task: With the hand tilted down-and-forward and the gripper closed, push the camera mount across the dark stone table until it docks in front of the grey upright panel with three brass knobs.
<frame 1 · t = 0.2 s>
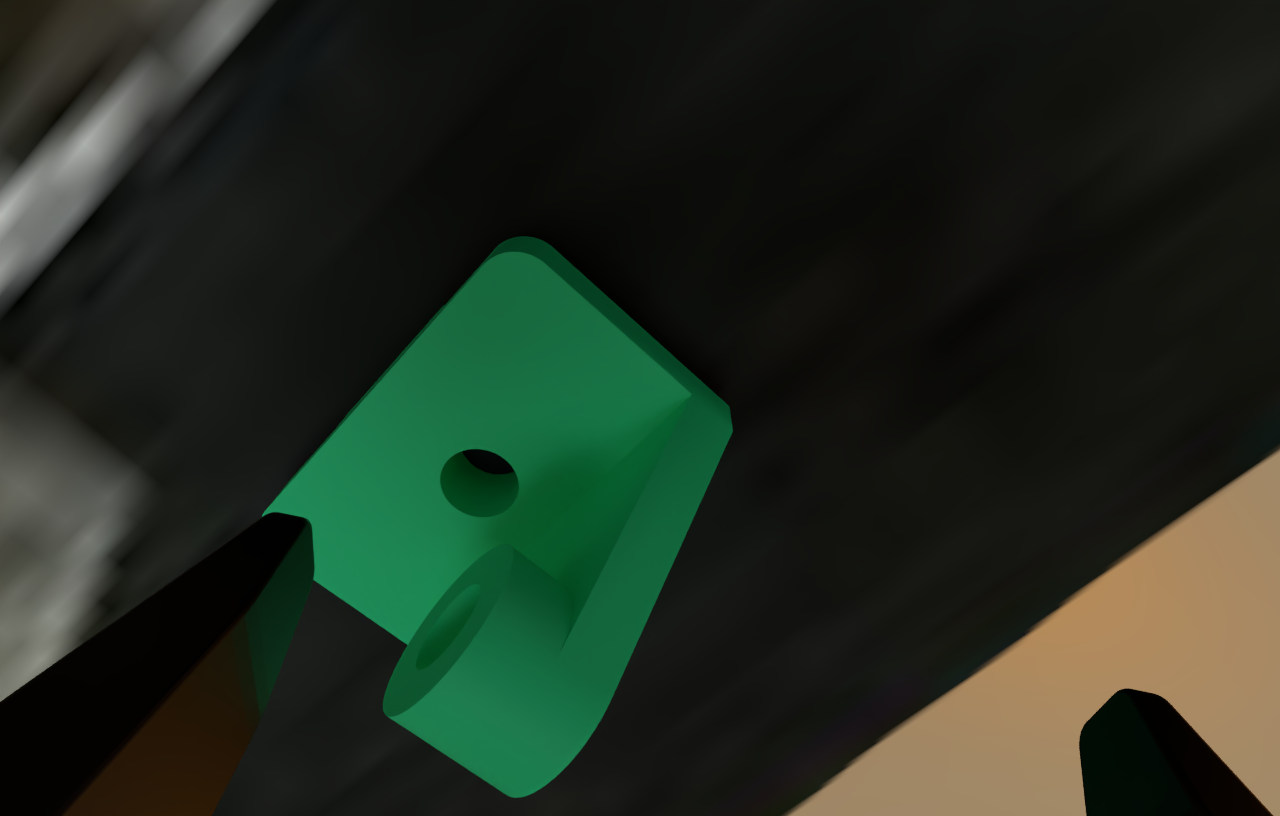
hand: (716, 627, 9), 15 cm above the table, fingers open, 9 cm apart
camera mount: (498, 437, 26), on the table
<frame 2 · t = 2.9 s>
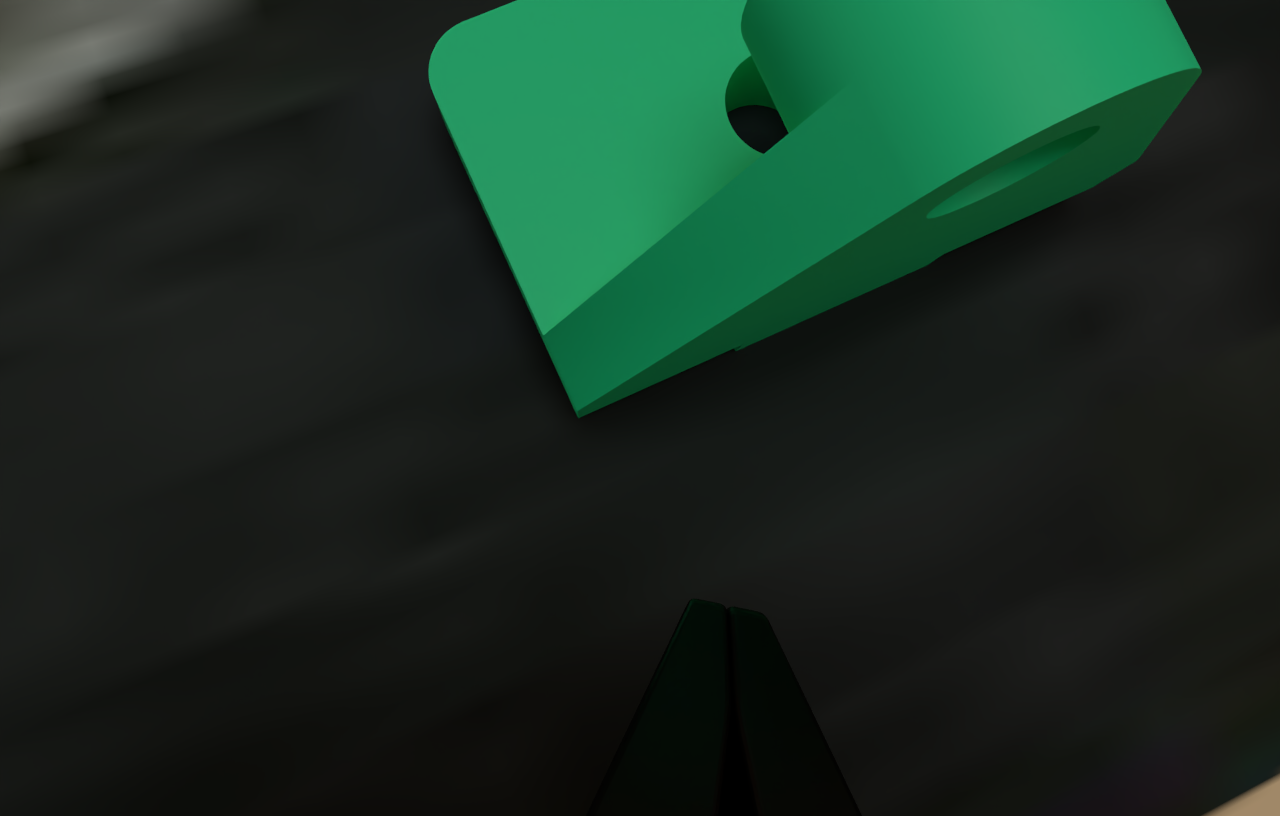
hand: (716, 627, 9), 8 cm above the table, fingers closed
camera mount: (752, 159, 19), on the table
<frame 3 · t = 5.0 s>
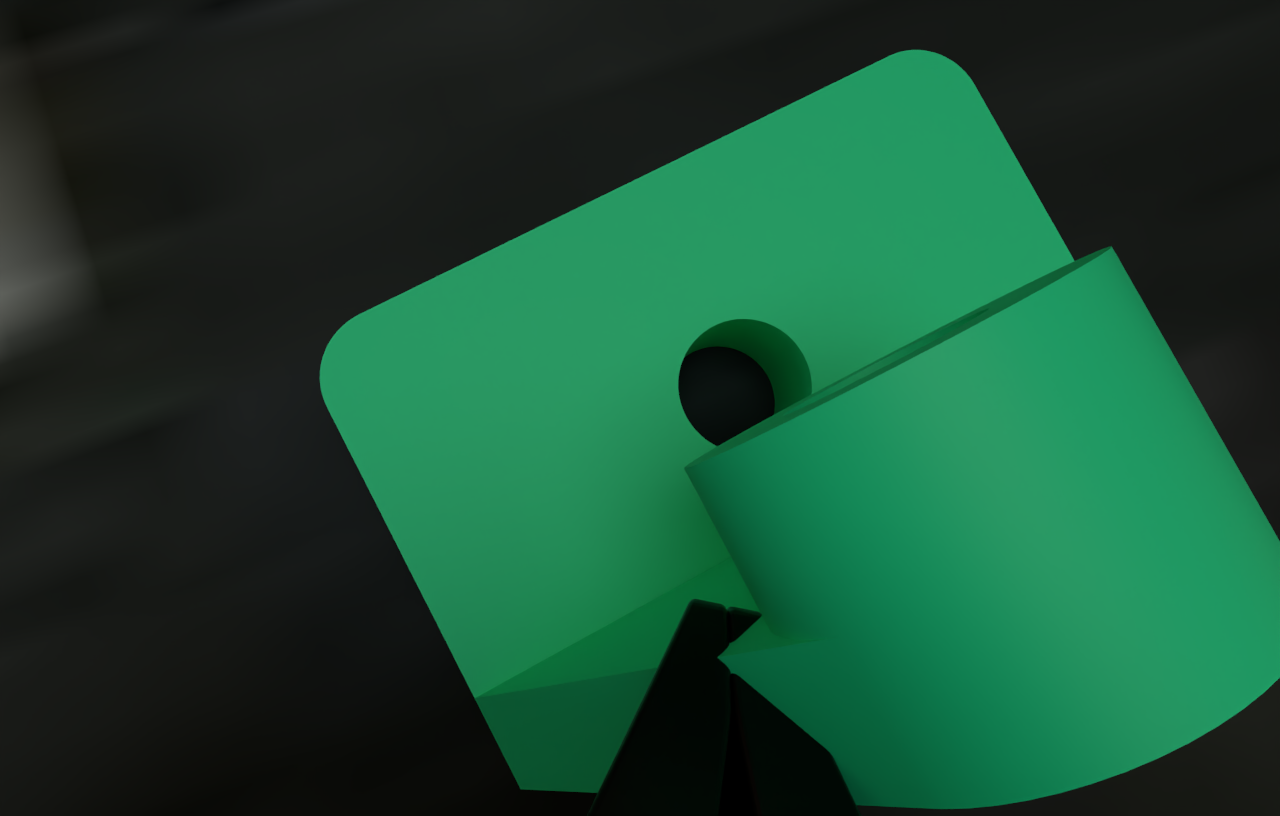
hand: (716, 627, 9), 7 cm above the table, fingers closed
camera mount: (717, 403, 17), on the table, touching gripper
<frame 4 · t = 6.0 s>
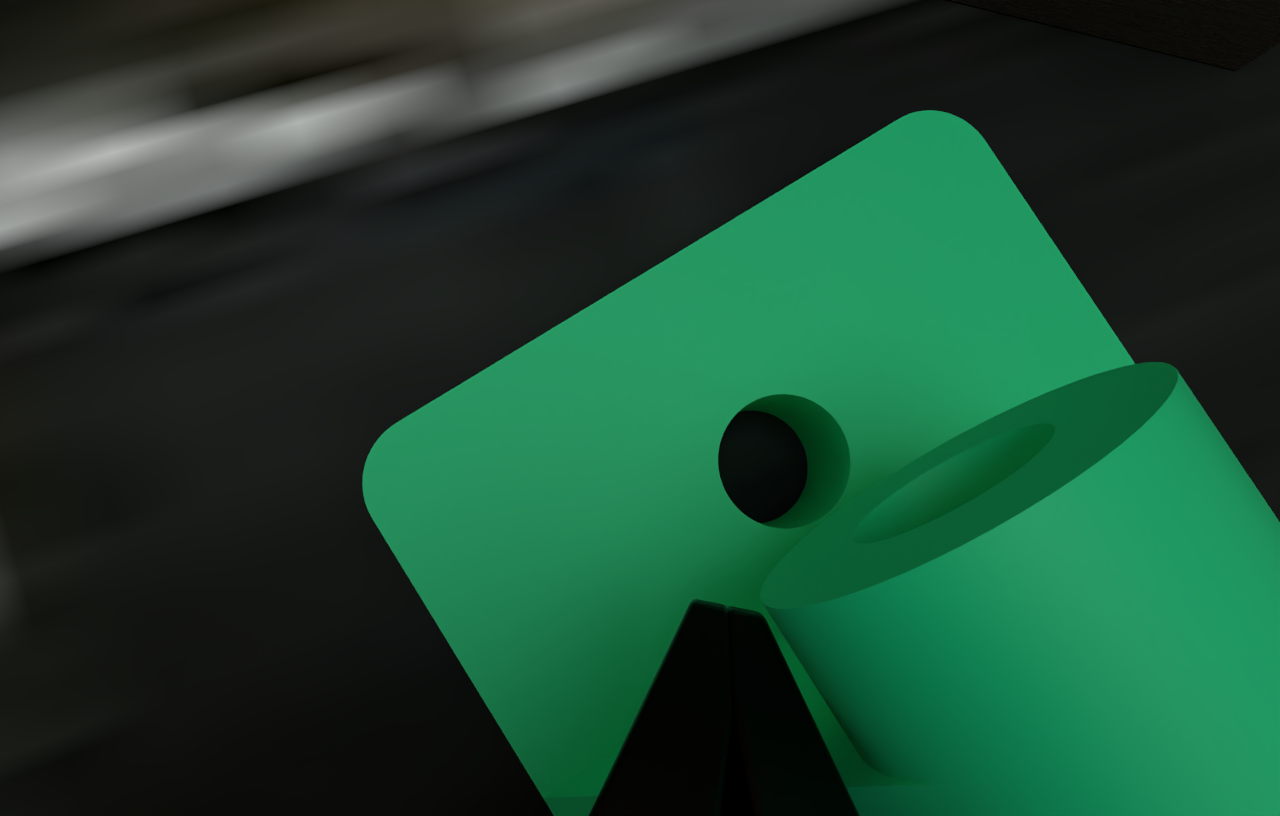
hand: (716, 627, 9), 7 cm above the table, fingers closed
camera mount: (749, 467, 17), on the table, touching gripper
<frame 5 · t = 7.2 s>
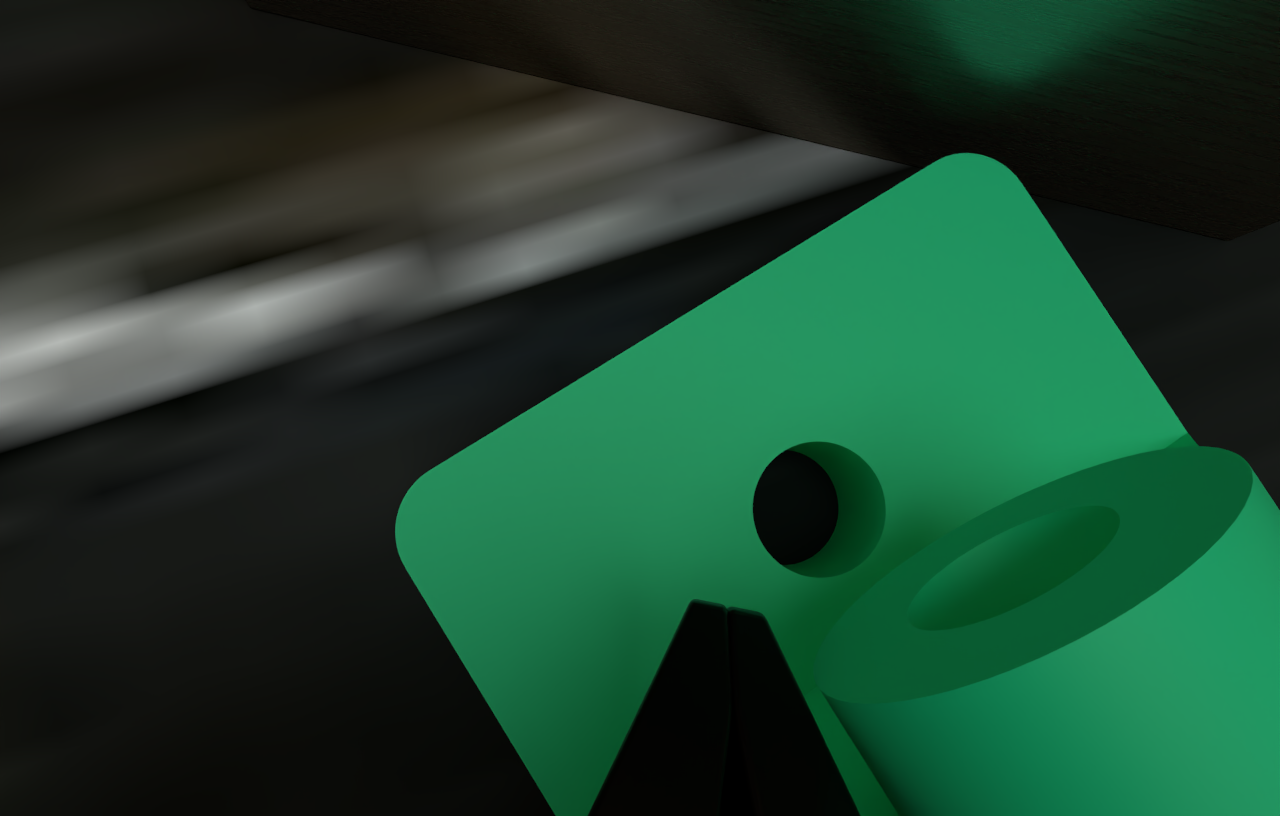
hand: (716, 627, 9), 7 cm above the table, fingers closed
grey upright panel: (764, 71, 17), on the table
camera mount: (779, 506, 17), on the table, touching gripper
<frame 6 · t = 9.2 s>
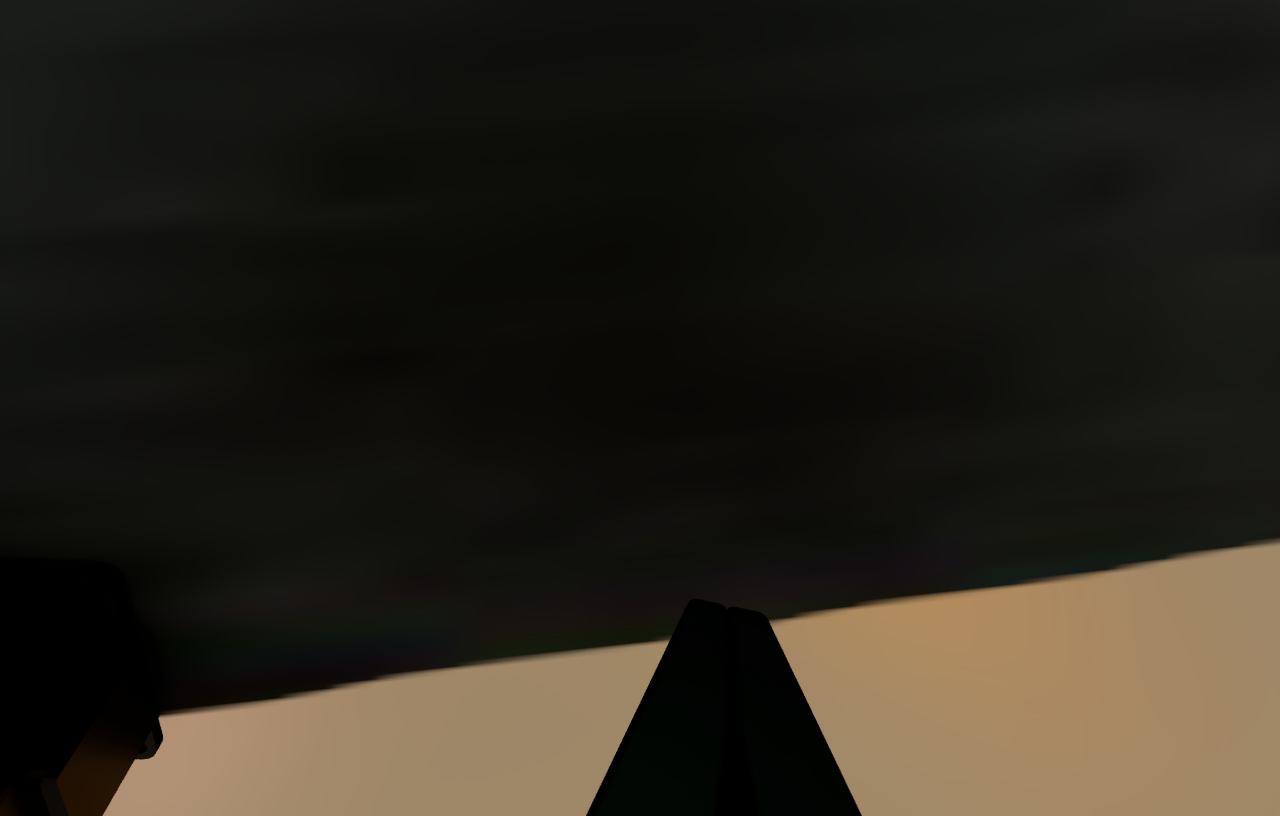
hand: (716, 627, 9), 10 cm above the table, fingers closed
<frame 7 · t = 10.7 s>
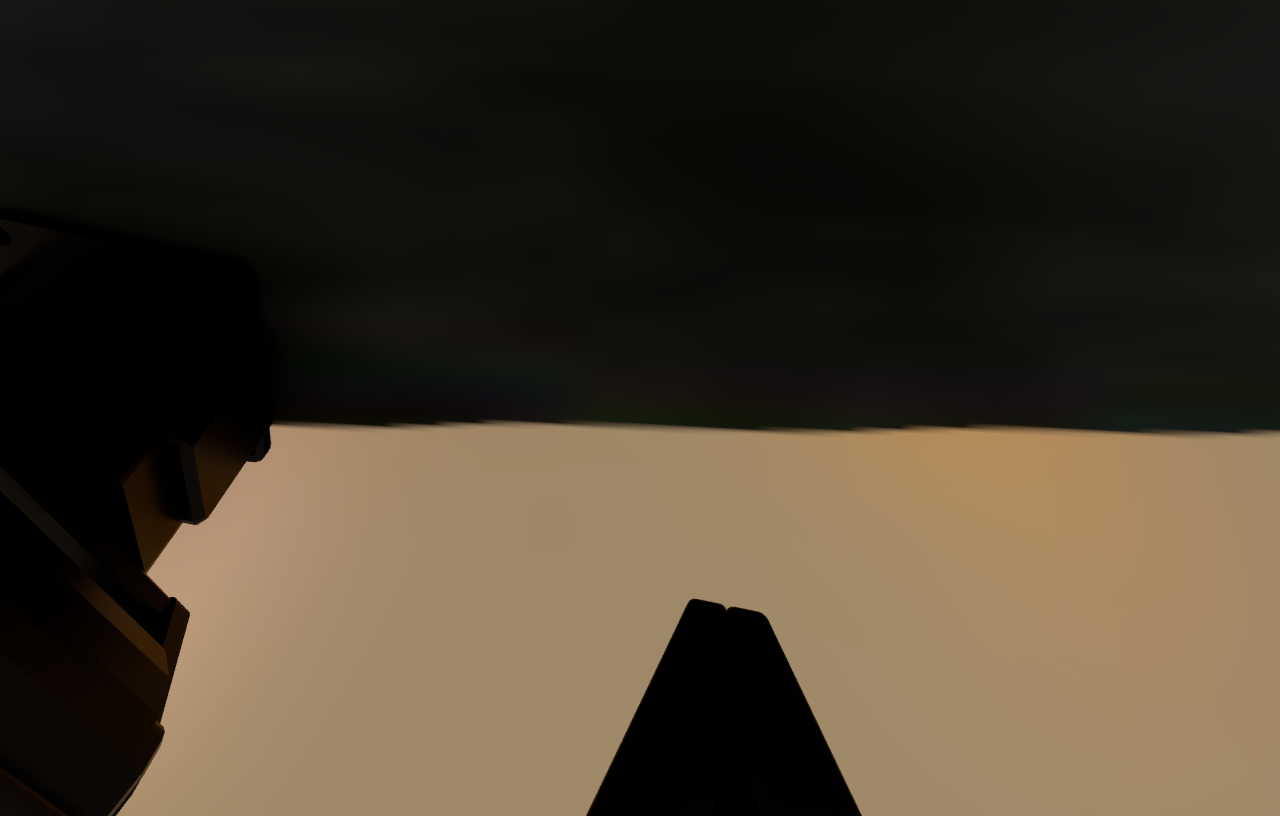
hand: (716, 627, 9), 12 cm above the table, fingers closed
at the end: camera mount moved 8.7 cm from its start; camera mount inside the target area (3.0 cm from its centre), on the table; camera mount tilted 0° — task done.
